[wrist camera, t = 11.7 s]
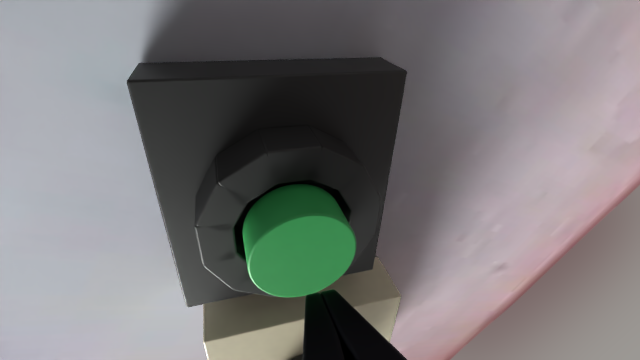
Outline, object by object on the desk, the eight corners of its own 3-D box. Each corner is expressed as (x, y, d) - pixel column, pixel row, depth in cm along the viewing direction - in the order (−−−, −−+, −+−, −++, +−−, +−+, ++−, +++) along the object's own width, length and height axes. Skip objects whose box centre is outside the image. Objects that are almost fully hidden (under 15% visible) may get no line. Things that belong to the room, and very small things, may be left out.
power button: (237, 190, 11) (242, 224, 9) (343, 177, 12) (362, 206, 10) (246, 269, 13) (251, 308, 11) (336, 252, 13) (352, 286, 12)
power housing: (138, 62, 11) (111, 101, 8) (381, 57, 14) (437, 84, 10) (188, 271, 16) (184, 346, 13) (357, 241, 19) (389, 298, 16)
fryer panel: (203, 290, 17) (203, 345, 15) (377, 256, 20) (403, 298, 17) (224, 389, 23) (227, 442, 20) (360, 352, 25) (378, 395, 23)
